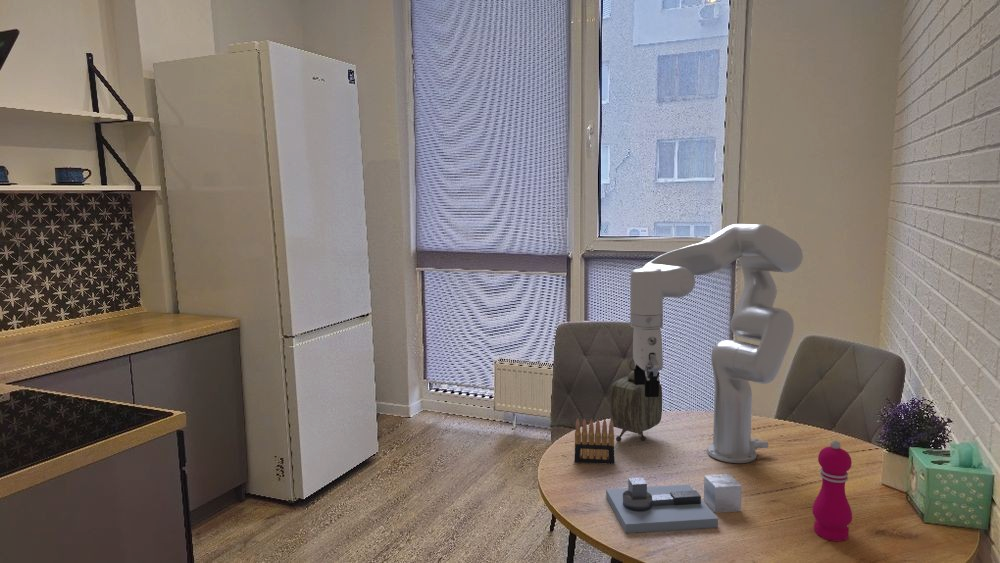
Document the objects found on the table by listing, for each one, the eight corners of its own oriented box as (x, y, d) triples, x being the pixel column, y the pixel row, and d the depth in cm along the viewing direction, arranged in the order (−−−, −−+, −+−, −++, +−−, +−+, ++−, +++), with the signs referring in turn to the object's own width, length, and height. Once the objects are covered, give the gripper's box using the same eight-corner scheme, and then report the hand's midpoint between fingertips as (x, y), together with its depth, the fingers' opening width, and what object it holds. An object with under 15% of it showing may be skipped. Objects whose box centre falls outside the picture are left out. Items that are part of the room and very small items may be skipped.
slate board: (688, 492, 146) (688, 484, 146) (717, 527, 130) (718, 518, 130) (606, 497, 144) (606, 489, 144) (625, 533, 129) (625, 524, 128)
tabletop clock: (637, 428, 188) (638, 349, 185) (663, 436, 181) (664, 353, 178) (609, 442, 178) (609, 358, 175) (636, 450, 171) (637, 363, 168)
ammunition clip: (614, 461, 164) (614, 418, 163) (614, 464, 163) (615, 420, 161) (574, 459, 166) (574, 416, 165) (574, 462, 164) (574, 419, 163)
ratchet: (692, 494, 141) (693, 471, 140) (704, 507, 135) (704, 483, 134) (619, 498, 140) (619, 475, 139) (627, 512, 133) (627, 488, 133)
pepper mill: (804, 525, 130) (808, 435, 128) (836, 523, 131) (841, 433, 128) (824, 544, 123) (829, 448, 121) (859, 541, 124) (864, 446, 121)
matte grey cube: (728, 498, 143) (729, 473, 142) (740, 511, 137) (741, 485, 136) (703, 500, 142) (704, 475, 142) (714, 512, 136) (715, 487, 136)
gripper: (673, 327, 137) (672, 401, 139) (651, 313, 154) (651, 379, 156) (640, 328, 137) (640, 402, 139) (622, 314, 154) (622, 380, 156)
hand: (645, 390), depth 148 cm, fingers open, 9 cm apart
